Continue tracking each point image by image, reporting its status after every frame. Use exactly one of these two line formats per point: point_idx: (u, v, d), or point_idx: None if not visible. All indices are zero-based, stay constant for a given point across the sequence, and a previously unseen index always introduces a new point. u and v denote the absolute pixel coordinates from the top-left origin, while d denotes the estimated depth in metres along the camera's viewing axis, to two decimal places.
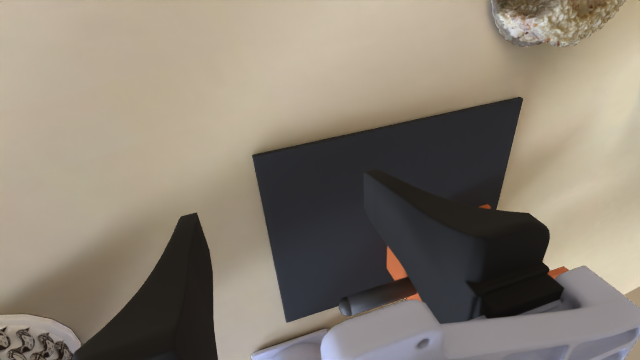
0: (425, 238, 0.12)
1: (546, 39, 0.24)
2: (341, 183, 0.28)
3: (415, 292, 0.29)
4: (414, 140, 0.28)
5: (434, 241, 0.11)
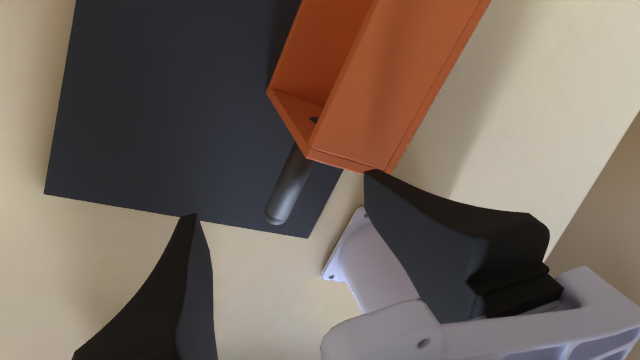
0: (425, 238, 0.12)
1: None
2: (137, 120, 0.21)
3: None
4: None
5: (434, 241, 0.11)
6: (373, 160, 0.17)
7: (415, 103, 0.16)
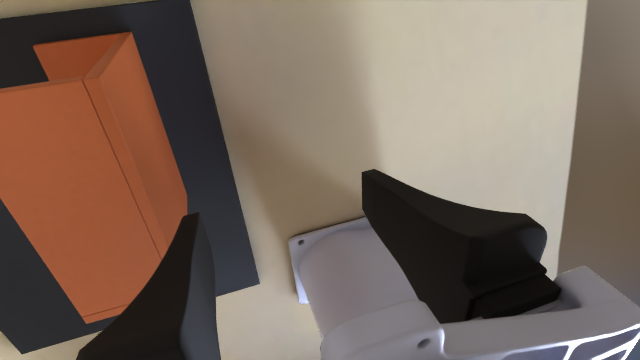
0: (422, 239, 0.12)
1: None
2: (37, 283, 0.24)
3: None
4: None
5: (431, 242, 0.11)
6: None
7: (143, 238, 0.15)
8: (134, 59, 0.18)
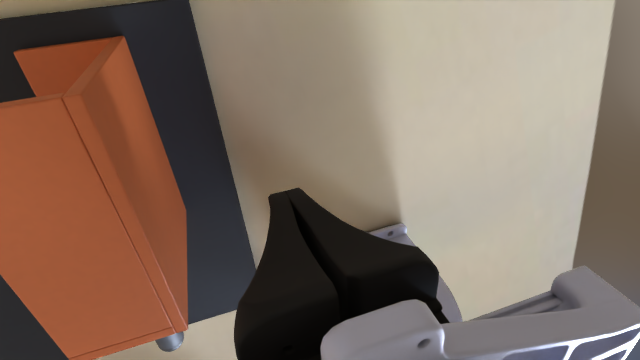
0: (324, 268, 0.11)
1: None
2: (25, 306, 0.23)
3: None
4: None
5: (329, 273, 0.11)
6: (149, 328, 0.15)
7: (136, 273, 0.13)
8: (127, 67, 0.16)
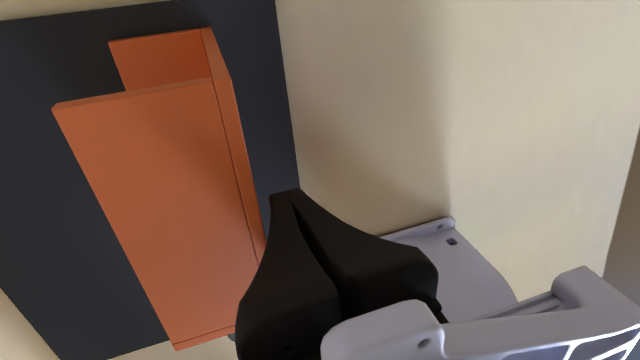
0: (324, 268, 0.11)
1: None
2: (91, 297, 0.23)
3: None
4: None
5: (328, 273, 0.11)
6: None
7: (247, 258, 0.13)
8: None
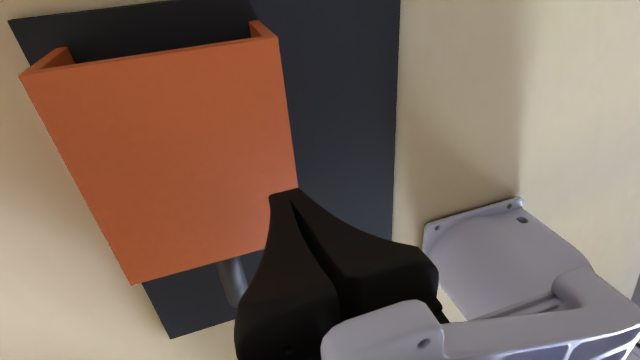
0: (324, 268, 0.11)
1: None
2: (201, 266, 0.24)
3: None
4: None
5: (329, 273, 0.11)
6: None
7: None
8: (232, 70, 0.14)
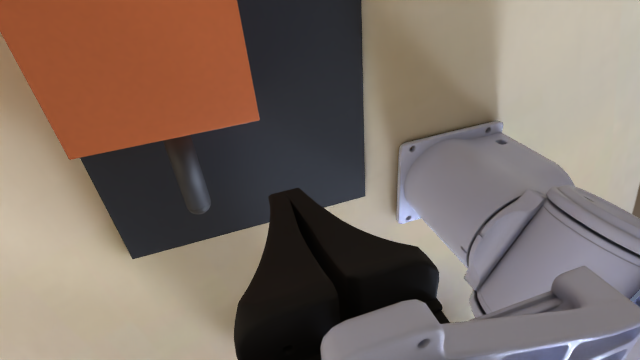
0: (324, 268, 0.11)
1: None
2: (160, 174, 0.23)
3: None
4: None
5: (329, 273, 0.11)
6: None
7: None
8: None
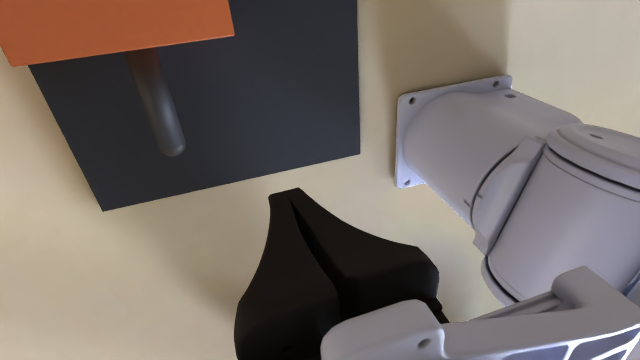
0: (324, 268, 0.11)
1: None
2: (130, 112, 0.21)
3: None
4: None
5: (329, 273, 0.11)
6: None
7: None
8: None
